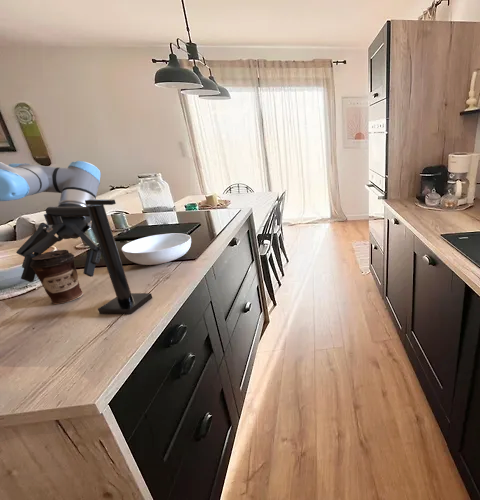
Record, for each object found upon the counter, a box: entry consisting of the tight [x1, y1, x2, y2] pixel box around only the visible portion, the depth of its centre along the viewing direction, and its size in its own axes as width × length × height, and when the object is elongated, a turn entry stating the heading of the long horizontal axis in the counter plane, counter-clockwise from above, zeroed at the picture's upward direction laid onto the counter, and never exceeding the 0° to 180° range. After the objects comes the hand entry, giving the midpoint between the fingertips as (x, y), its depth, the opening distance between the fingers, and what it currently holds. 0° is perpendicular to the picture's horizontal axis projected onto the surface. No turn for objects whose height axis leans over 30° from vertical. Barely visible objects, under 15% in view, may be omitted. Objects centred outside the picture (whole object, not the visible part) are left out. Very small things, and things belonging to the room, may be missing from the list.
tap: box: [43, 199, 153, 315], centre depth 70 cm, size 17×8×28 cm, turn 88°
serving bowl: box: [120, 232, 192, 266], centre depth 103 cm, size 21×21×7 cm
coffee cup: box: [30, 249, 84, 305], centre depth 76 cm, size 9×8×13 cm
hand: (58, 277), depth 75 cm, fingers open, 13 cm apart
